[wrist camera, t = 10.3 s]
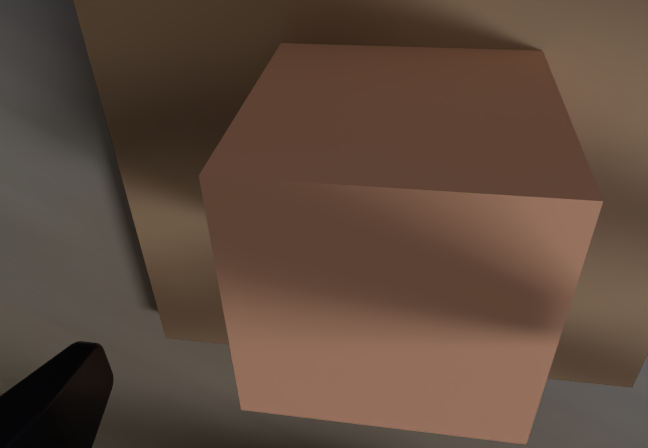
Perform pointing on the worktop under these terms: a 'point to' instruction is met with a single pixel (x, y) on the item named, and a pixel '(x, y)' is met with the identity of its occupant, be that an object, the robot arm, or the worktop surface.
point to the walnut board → (371, 30)
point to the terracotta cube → (399, 236)
